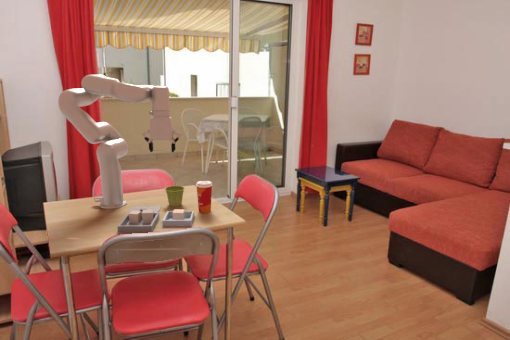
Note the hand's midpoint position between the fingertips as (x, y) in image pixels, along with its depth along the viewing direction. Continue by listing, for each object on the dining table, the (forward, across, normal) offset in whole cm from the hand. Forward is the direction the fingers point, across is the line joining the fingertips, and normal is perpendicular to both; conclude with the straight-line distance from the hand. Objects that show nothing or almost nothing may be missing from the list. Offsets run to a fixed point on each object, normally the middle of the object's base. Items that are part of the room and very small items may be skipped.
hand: (162, 151), depth 184 cm
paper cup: (+28, +19, -3) cm, 34 cm away
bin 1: (+28, -6, -21) cm, 35 cm away
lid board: (+28, -9, -5) cm, 30 cm away
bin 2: (+28, +10, -17) cm, 34 cm away
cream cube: (+27, +10, -17) cm, 33 cm away
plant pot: (+28, +4, +6) cm, 29 cm away
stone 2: (+27, -4, -17) cm, 32 cm away
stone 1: (+27, -9, -17) cm, 33 cm away
